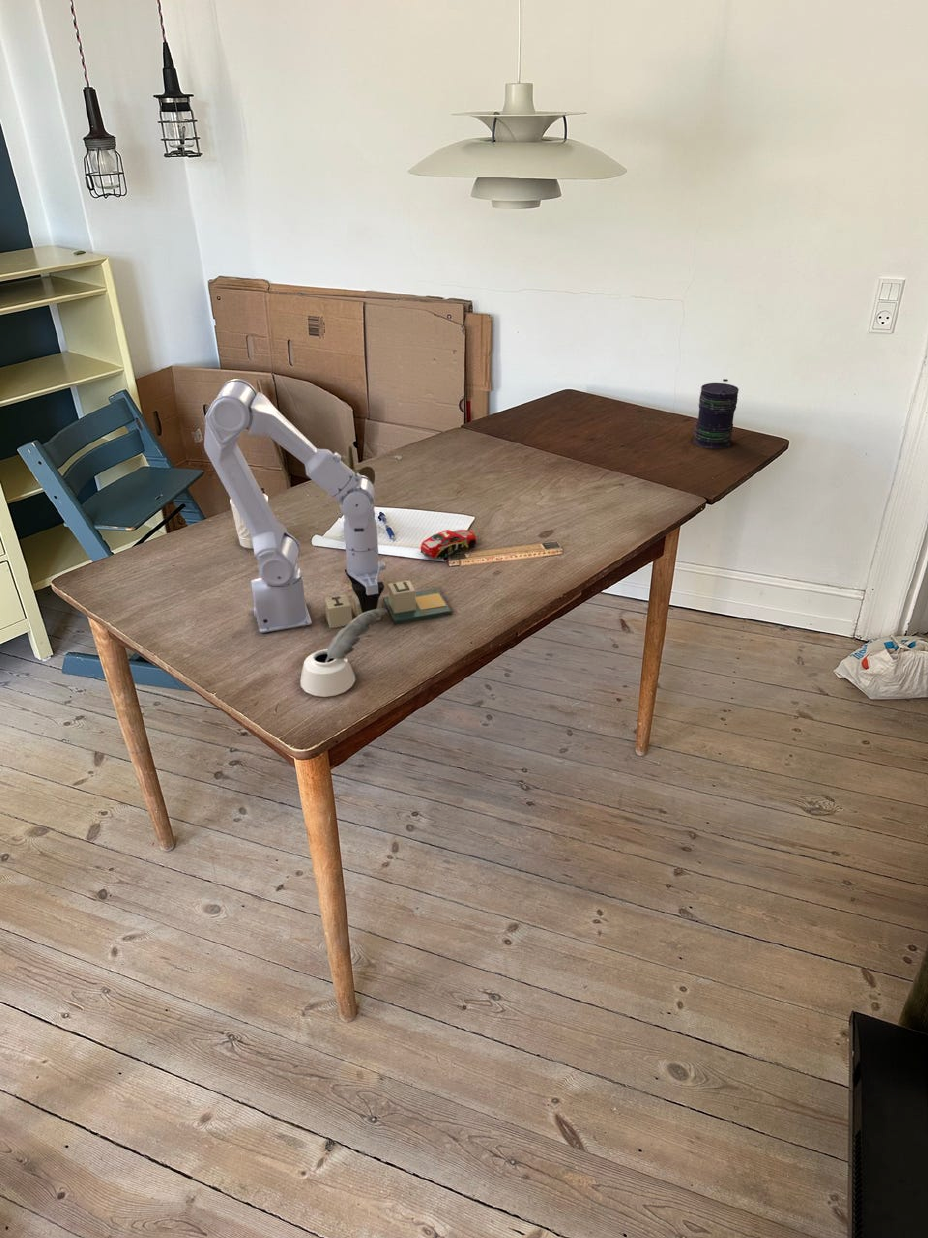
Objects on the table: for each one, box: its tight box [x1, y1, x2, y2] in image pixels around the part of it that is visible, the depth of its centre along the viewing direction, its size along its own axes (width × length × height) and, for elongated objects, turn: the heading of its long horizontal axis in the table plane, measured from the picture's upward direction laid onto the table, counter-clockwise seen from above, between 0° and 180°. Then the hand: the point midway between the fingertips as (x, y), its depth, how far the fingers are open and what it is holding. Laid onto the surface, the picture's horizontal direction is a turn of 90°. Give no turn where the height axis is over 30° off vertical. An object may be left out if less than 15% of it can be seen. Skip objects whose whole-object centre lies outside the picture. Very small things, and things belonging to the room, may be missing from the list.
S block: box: [351, 592, 381, 621], centre depth 165 cm, size 4×4×4 cm
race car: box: [420, 529, 477, 559], centre depth 188 cm, size 13×5×4 cm, turn 127°
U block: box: [387, 580, 416, 614], centre depth 166 cm, size 4×4×4 cm
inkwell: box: [299, 608, 389, 698], centre depth 148 cm, size 9×18×10 cm, turn 135°
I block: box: [323, 594, 353, 629], centre depth 163 cm, size 4×4×4 cm
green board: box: [382, 588, 452, 625], centre depth 168 cm, size 11×9×1 cm
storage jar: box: [693, 378, 740, 449], centre depth 237 cm, size 10×10×18 cm
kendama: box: [339, 445, 376, 486], centre depth 191 cm, size 6×10×20 cm, turn 47°
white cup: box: [229, 493, 270, 549], centre depth 190 cm, size 8×8×10 cm
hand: (366, 609), depth 165 cm, fingers closed on S block, 4 cm apart
